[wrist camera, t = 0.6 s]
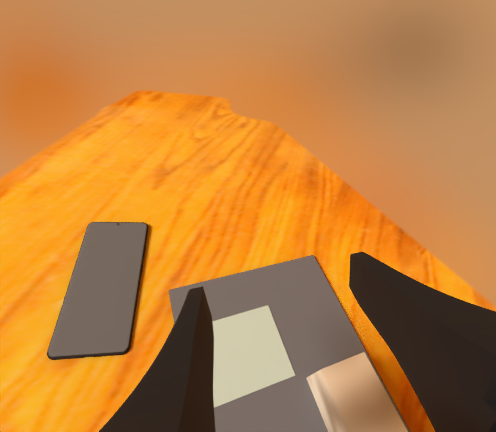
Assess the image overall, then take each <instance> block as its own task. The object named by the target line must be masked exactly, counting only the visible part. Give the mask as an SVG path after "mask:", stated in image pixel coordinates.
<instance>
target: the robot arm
mask: <svg viewBox="0 0 496 432" xmlns="http://www.w3.org/2000/svg"><path fill="white" fill-rule="evenodd" d="M349 287H350V289H351V291H352V292H353V294H354V296H355V298H356V300H357V302H358V304H359V305H360V307H361V308H362V310H363V311H364V313H365V314H366V315H367V317H368V318H369V320H370V321H371V322H372V324H373V325H374V327H375V328H376V329H377V331H378V332H379V334H380V335H381V336H382V338H383V339H384V341H385V342H386V343H387V345H388V346H389V348H390V349H391V351H392V352H393V354H394V356H395V357H396V359H397V361H398V362H399V364H400V366H401V368H402V369H403V371H404V373H405V375H406V376H407V378H408V380H409V382H410V384H411V385H412V387H413V389H414V391H415V393H416V394H417V396H418V398H419V400H420V402H421V404H422V406H423V408H424V410H425V412H426V414H427V415H428V417H429V419H430V421H431V423H432V425H433V427H434V429H435V431H436V432H496V312H495V311H492V310H489V309H485V308H482V307H479V306H477V305H474V304H471V303H468V302H465V301H462V300H460V299H457V298H454V297H452V296H449V295H447V294H445V293H442V292H440V291H437V290H435V289H433V288H430V287H428V286H426V285H424V284H422V283H420V282H418V281H416V280H414V279H412V278H410V277H408V276H406V275H404V274H402V273H400V272H398V271H397V270H395V269H393V268H391V267H389V266H388V265H386V264H384V263H382V262H380V261H379V260H377V259H375V258H373V257H372V256H370V255H368V254H366V253H364V252H359V253H354V254H351V256H350V282H349ZM213 368H214V332H213V322H212V315H211V312H210V308H209V305H208V302H207V298H206V295H205V292H204V288H203V286H202V287H197V288H193V289H190V290H189V291H188V293H187V296H186V299H185V301H184V304H183V306H182V309H181V311H180V313H179V316H178V318H177V320H176V322H175V324H174V326H173V328H172V330H171V332H170V334H169V336H168V338H167V340H166V342H165V344H164V345H163V347H162V349H161V351H160V352H159V354H158V356H157V357H156V359H155V360H154V362H153V364H152V365H151V367H150V368H149V370H148V371H147V373H146V374H145V375H144V377H143V378H142V380H141V381H140V383H139V384H138V385H137V387H136V388H135V389H134V391H133V392H132V393H131V394H130V396H129V397H128V398H127V399H126V401H125V402H124V403H123V404H122V406H121V407H120V408H119V409H118V411H117V412H116V413H115V414H114V415H113V417H112V418H111V419H110V420H109V421H108V422H107V423H106V424H105V425H104V427H103V428H102V429H101V430H100V431H99V432H216V430H215V416H214V402H213Z"/></svg>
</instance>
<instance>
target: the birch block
mask: <svg viewBox="0 0 496 432" xmlns="http://www.w3.org/2000/svg"><path fill="white" fill-rule="evenodd" d="M306 379H307V381H308V383H309V386H310V388H311V391H312V393H313V396H314V398H315V401H316V403H317V406H318V408H319V410H320V413H321V415H322V418H323V420H324V423H325V425H326V428H327V430H328V432H408V431H407V429H406V427H405V426H404V424H403V422H402V420H401V418H400V416H399V415H398V413H397V411H396V409H395V407H394V405H393V404H392V402H391V400H390V398H389V396H388V394H387V392H386V391H385V389H384V387H383V385H382V383H381V381H380V380H379V378H378V376H377V374H376V372H375V370H374V369H373V367H372V365H371V363H370V361H369V359H368V358H367V356H366V354H365V352H363V353H360V354H358V355H355V356H353V357H350V358H348V359H345V360H343V361H340V362H338V363H335V364H333V365H331V366H328V367H326V368H323V369H321V370H319V371H317V372H316V373H314V374H312V375H310V376H308V377H307V378H306Z"/></svg>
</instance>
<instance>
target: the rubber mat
mask: <svg viewBox="0 0 496 432" xmlns="http://www.w3.org/2000/svg"><path fill="white" fill-rule="evenodd" d="M202 286H203V288H204V292H205V295H206V298H207V302H208V305H209V308H210V312H211V315H212V322H213V332H214V368H213V402H214V416H215V430H216V432H328V430H327V428H326V425H325V423H324V420H323V418H322V415H321V413H320V410H319V408H318V406H317V403H316V401H315V398H314V396H313V393H312V391H311V388H310V386H309V383H308V381H307V379H306V378H307V377H308V376H310V375H312V374H314V373H316V372H317V371H319V370H321V369H323V368H326V367H328V366H331V365H333V364H335V363H338V362H340V361H343V360H345V359H348V358H350V357H353V356H355V355H358V354H360V353H363V352H365V354H366V356H367V358H368V359H369V361H370V363H371V365H372V367H373V369H374V370H375V372H376V374H377V376H378V378H379V380H380V381H381V383H382V385H383V387H384V389H385V391H386V392H387V394H388V396H389V398H390V400H391V402H392V404H393V405H394V407H395V409H396V411H397V413H398V415H399V416H400V418H401V420H402V422H403V424H404V426H405V427H406V429H407V431H408V432H410V430H409V428H408V427H407V425H406V423H405V421H404V419H403V417H402V416H401V414H400V412H399V410H398V408H397V407H396V405H395V403H394V401H393V399H392V397H391V396H390V394H389V392H388V390H387V388H386V386H385V385H384V383H383V381H382V379H381V377H380V375H379V374H378V372H377V370H376V368H375V366H374V365H373V363H372V361H371V359H370V357H369V355H368V354H367V352H366V350H365V348H364V346H363V344H362V343H361V341H360V339H359V337H358V335H357V334H356V332H355V330H354V328H353V326H352V324H351V323H350V321H349V319H348V317H347V315H346V313H345V312H344V310H343V308H342V306H341V304H340V303H339V301H338V299H337V297H336V295H335V293H334V292H333V290H332V288H331V286H330V284H329V282H328V281H327V279H326V277H325V275H324V273H323V272H322V270H321V268H320V266H319V264H318V262H317V261H316V259H315V257H314V255H311V256H307V257H303V258H299V259H295V260H291V261H287V262H283V263H279V264H274V265H270V266H266V267H262V268H258V269H254V270H250V271H246V272H241V273H237V274H233V275H229V276H225V277H221V278H217V279H213V280H209V281H204V282H200V283H196V284H192V285H188V286H184V287H180V288H176V289H171V290H169V294H170V300H171V306H172V311H173V317H174V323H175V322H176V320H177V318H178V316H179V313H180V311H181V309H182V306H183V304H184V301H185V299H186V296H187V293H188V291H189V290H190V289H193V288H197V287H202Z"/></svg>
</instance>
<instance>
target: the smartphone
mask: <svg viewBox="0 0 496 432" xmlns="http://www.w3.org/2000/svg"><path fill="white" fill-rule="evenodd" d="M147 233H148V225H147V224H146V223H134V222H92V223H90V224H89V225H88V226H87V230H86V233H85V236H84V239H83V242H82V245H81V248H80V252H79V255H78V258H77V261H76V264H75V267H74V270H73V273H72V277H71V280H70V283H69V286H68V289H67V292H66V295H65V298H64V302H63V305H62V308H61V311H60V314H59V317H58V320H57V323H56V327H55V330H54V333H53V336H52V339H51V342H50V345H49V348H48V352H47V356H48V358H49V359H51V360H59V359H72V358H84V357H100V356H107V355H108V356H109V355H110V356H111V355H112V356H113V355H124V354H126V353H127V352H128V351H129V349H130V345H131V338H132V331H133V325H134V318H135V312H136V305H137V298H138V292H139V285H140V279H141V272H142V267H143V260H144V254H145V247H146V240H147Z"/></svg>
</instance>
